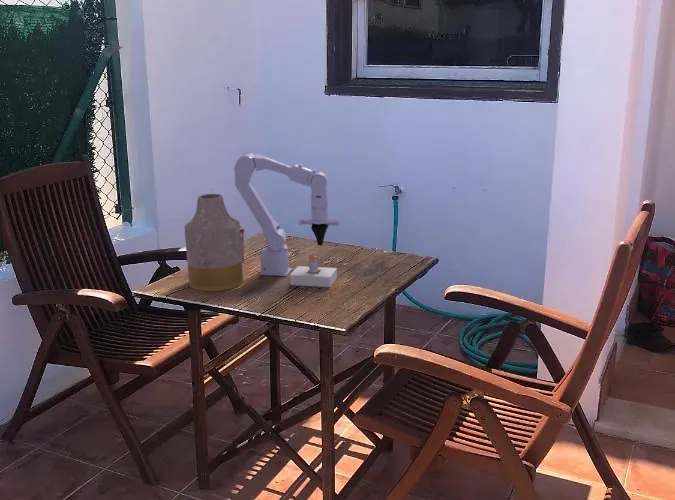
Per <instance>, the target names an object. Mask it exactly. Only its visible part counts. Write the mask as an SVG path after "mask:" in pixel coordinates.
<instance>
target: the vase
mask: <svg viewBox="0 0 675 500" xmlns="http://www.w3.org/2000/svg"><path fill="white" fill-rule="evenodd" d="M196 201H197V202H196V209H195V210H196V211H195V213H194V216H193V217H192V218H191V220H190V221H188V222H186V224H185V225H184V237H185V253H186V262H187V273H188V283H189V284H188V285H189V288H191V289H192V290H195V291H197V292H198V291H199V292H205V293H207V292H208V293H214V292H215V293H216V292H217V293H218V292H224V291H229V290H233V289H235V288H238V287H240V286H242V284H243V283H244V273H243V263H242V254H241V237H240V225H241V224H240V221H239V220H238V219H235V218H234V217H232V216H231V215H230V214H229V212H228V211H227V208H226V205H225V201H224V198H223V195H222V194H220V193H206V194H200V195H198V197H197V200H196Z"/></svg>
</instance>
